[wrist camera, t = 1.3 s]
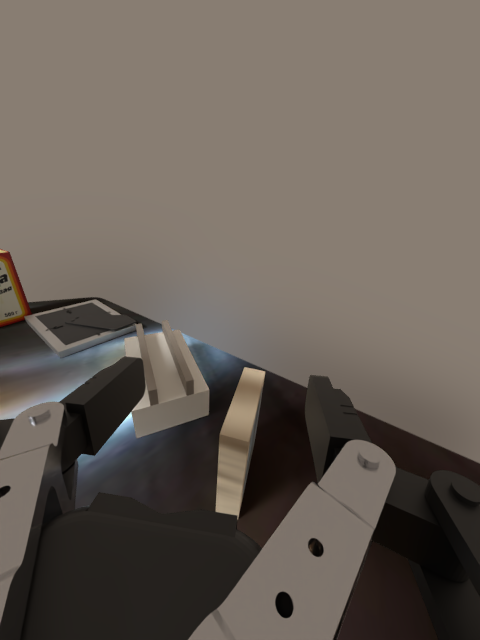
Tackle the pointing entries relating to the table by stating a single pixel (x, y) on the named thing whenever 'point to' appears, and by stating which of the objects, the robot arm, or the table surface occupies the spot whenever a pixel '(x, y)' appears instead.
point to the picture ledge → (167, 381)
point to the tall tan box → (238, 441)
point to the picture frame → (79, 326)
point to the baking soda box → (11, 293)
